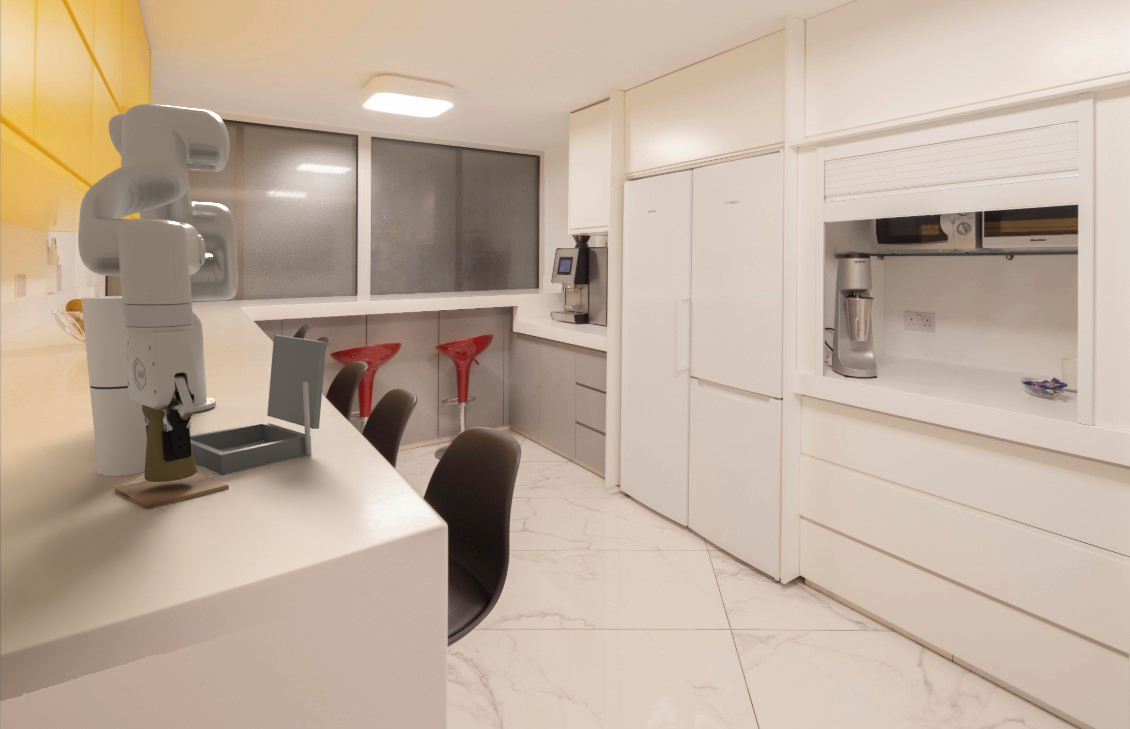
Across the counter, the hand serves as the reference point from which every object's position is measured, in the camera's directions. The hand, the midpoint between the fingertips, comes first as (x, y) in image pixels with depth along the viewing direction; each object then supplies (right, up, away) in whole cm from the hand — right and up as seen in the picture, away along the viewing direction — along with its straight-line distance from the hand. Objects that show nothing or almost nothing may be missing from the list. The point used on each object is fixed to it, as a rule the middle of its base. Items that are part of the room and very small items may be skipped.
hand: (169, 454), depth 86 cm
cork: (0, -3, 0) cm, 3 cm away
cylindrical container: (-12, -4, +9) cm, 15 cm away
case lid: (+7, +9, +22) cm, 24 cm away
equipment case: (+2, -3, +16) cm, 17 cm away
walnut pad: (0, -5, +1) cm, 5 cm away
